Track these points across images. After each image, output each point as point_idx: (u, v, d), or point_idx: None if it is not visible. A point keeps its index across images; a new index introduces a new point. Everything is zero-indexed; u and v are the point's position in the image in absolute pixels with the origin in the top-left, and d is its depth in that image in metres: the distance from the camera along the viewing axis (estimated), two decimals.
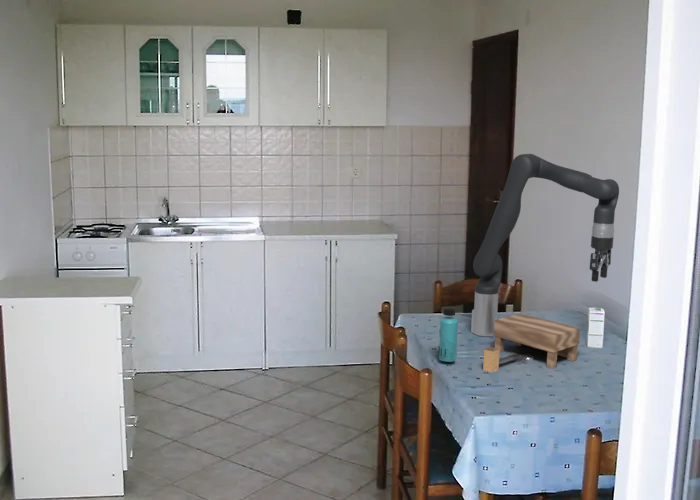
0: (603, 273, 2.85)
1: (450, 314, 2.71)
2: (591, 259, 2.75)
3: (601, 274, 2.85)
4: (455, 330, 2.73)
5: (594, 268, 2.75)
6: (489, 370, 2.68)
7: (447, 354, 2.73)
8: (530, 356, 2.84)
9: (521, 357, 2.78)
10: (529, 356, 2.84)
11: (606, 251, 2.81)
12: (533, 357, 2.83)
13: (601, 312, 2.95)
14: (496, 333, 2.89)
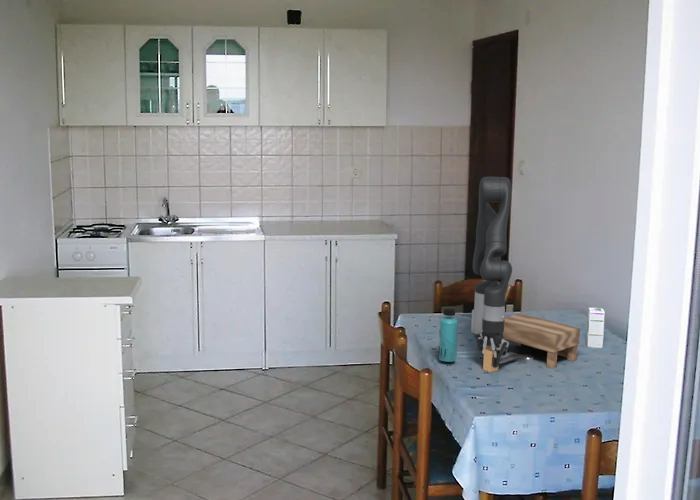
0: None
1: (450, 314, 2.71)
2: (504, 348, 2.64)
3: None
4: (455, 330, 2.73)
5: (503, 354, 2.66)
6: (489, 370, 2.68)
7: (447, 354, 2.73)
8: (530, 356, 2.84)
9: (521, 357, 2.78)
10: (529, 356, 2.84)
11: None
12: (533, 357, 2.83)
13: (601, 312, 2.95)
14: None
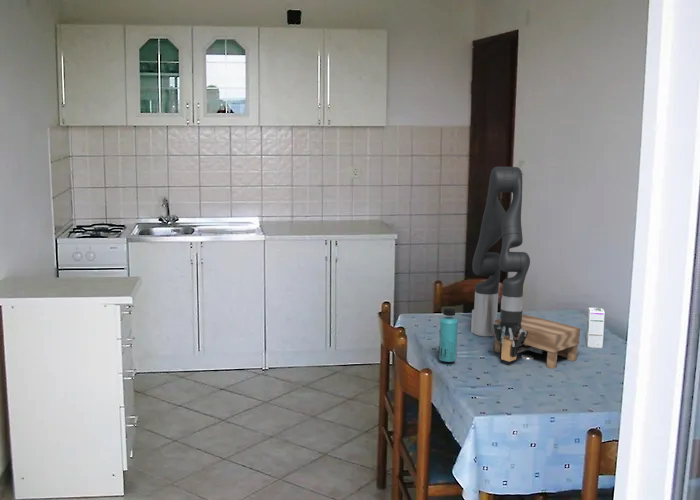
0: None
1: (450, 314, 2.71)
2: (522, 338, 2.70)
3: None
4: (455, 330, 2.73)
5: (521, 343, 2.72)
6: (507, 359, 2.74)
7: (447, 354, 2.73)
8: (530, 356, 2.84)
9: None
10: (529, 356, 2.84)
11: None
12: (533, 357, 2.83)
13: (601, 312, 2.95)
14: None
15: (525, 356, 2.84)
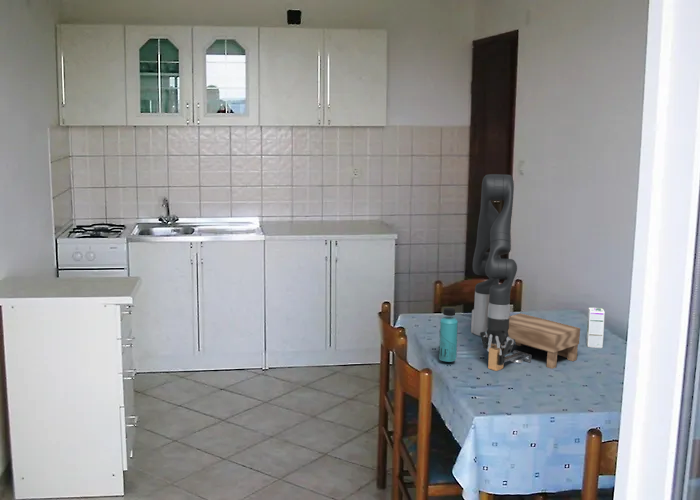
0: None
1: (450, 314, 2.71)
2: (509, 346, 2.65)
3: None
4: (455, 330, 2.73)
5: (509, 352, 2.67)
6: (494, 368, 2.69)
7: (447, 354, 2.73)
8: (519, 359, 2.80)
9: (525, 355, 2.80)
10: (518, 359, 2.80)
11: None
12: (522, 360, 2.79)
13: (601, 312, 2.95)
14: None
15: (514, 359, 2.80)
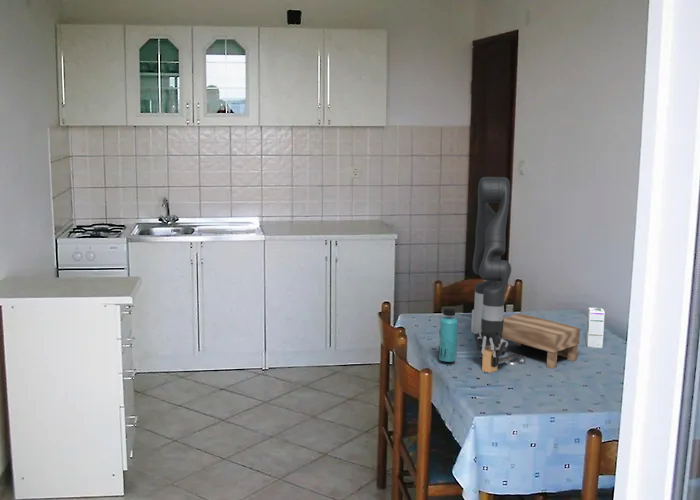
0: None
1: (450, 314, 2.71)
2: (503, 348, 2.63)
3: None
4: (455, 330, 2.73)
5: (503, 354, 2.65)
6: (488, 370, 2.68)
7: (447, 354, 2.73)
8: (514, 361, 2.78)
9: (520, 357, 2.78)
10: (513, 361, 2.78)
11: None
12: (517, 362, 2.77)
13: (601, 312, 2.95)
14: None
15: (509, 361, 2.78)
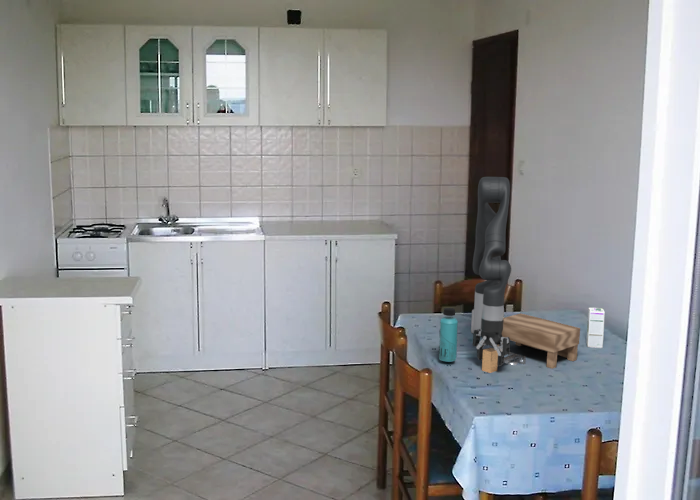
0: (481, 355, 2.72)
1: (450, 314, 2.71)
2: (506, 344, 2.62)
3: (480, 356, 2.71)
4: (455, 330, 2.73)
5: (508, 352, 2.63)
6: (488, 370, 2.68)
7: (447, 354, 2.73)
8: (514, 361, 2.78)
9: (520, 357, 2.78)
10: (513, 361, 2.78)
11: None
12: (517, 362, 2.77)
13: (601, 312, 2.95)
14: None
15: (509, 361, 2.78)
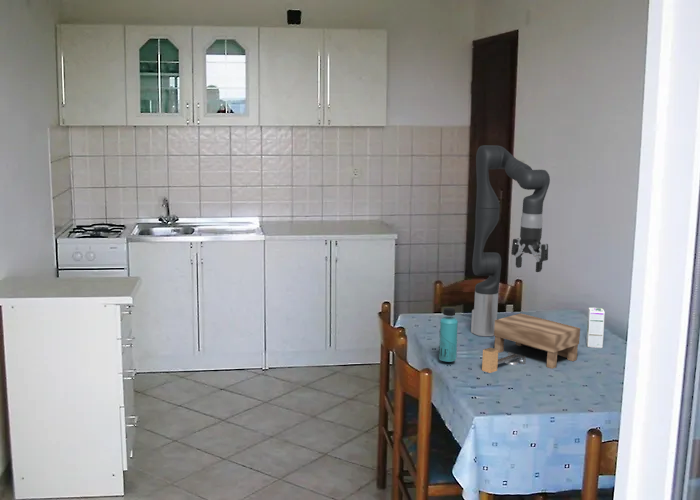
0: (519, 263, 2.84)
1: (450, 314, 2.71)
2: (544, 250, 2.74)
3: (518, 264, 2.84)
4: (455, 330, 2.73)
5: (546, 258, 2.76)
6: (488, 370, 2.68)
7: (447, 354, 2.73)
8: (514, 361, 2.78)
9: (520, 357, 2.78)
10: (513, 361, 2.78)
11: None
12: (517, 362, 2.77)
13: (601, 312, 2.95)
14: (496, 333, 2.89)
15: (509, 361, 2.78)
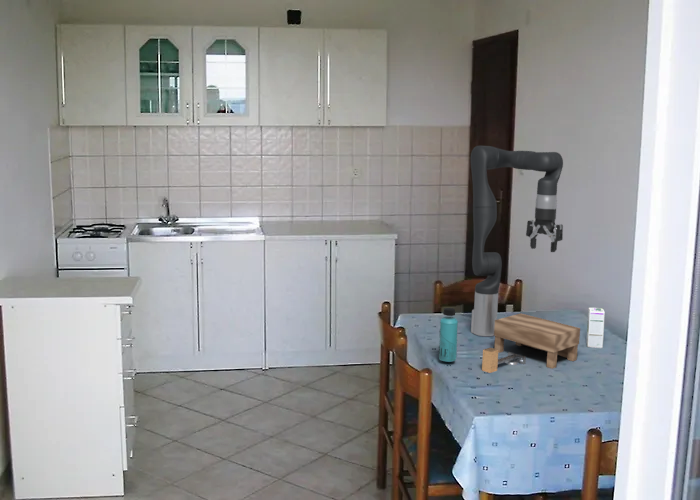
0: (534, 244, 2.91)
1: (450, 314, 2.71)
2: (559, 230, 2.81)
3: (533, 245, 2.91)
4: (455, 330, 2.73)
5: (561, 238, 2.83)
6: (488, 370, 2.68)
7: (447, 354, 2.73)
8: (514, 361, 2.78)
9: (520, 357, 2.78)
10: (513, 361, 2.78)
11: None
12: (517, 362, 2.77)
13: (601, 312, 2.95)
14: (496, 333, 2.89)
15: (509, 361, 2.78)
